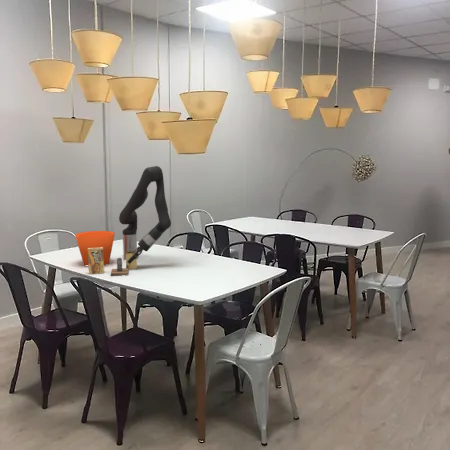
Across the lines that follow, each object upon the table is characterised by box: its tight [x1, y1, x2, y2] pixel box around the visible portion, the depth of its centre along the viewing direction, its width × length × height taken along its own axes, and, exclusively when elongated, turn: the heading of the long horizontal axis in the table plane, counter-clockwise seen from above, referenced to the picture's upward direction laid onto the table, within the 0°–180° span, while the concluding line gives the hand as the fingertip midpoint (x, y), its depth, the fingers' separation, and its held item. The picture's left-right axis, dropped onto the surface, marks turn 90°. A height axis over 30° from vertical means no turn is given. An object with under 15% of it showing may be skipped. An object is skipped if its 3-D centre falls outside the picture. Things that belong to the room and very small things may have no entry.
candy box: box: [88, 247, 105, 275], centre depth 292 cm, size 9×4×15 cm, turn 104°
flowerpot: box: [74, 230, 116, 266], centre depth 317 cm, size 25×25×20 cm
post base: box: [110, 257, 130, 277], centre depth 292 cm, size 12×10×10 cm
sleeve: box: [125, 251, 138, 270], centre depth 305 cm, size 6×6×10 cm
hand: (128, 261), depth 304 cm, fingers closed on sleeve, 6 cm apart
